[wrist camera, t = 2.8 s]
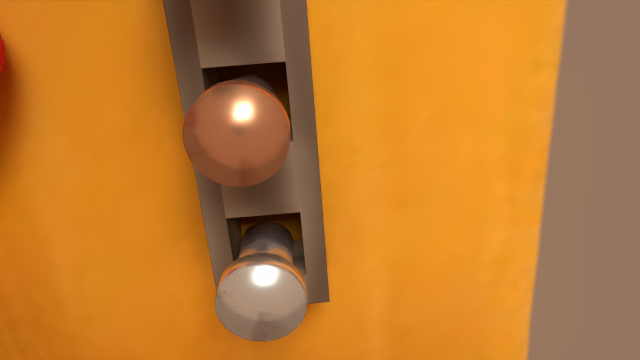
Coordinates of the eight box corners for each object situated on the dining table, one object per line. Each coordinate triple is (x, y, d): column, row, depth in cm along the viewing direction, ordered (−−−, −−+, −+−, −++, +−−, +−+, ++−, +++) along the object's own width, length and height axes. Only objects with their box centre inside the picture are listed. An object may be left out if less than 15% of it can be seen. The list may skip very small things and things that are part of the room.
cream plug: (235, 277, 35) (222, 345, 29) (225, 213, 33) (208, 270, 27) (307, 271, 35) (310, 337, 29) (301, 207, 33) (302, 262, 27)
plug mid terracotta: (214, 147, 31) (192, 191, 25) (200, 65, 29) (173, 90, 23) (295, 140, 31) (294, 182, 25) (287, 58, 29) (284, 81, 23)
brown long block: (229, 272, 40) (220, 311, 35) (155, -160, 28) (127, -187, 24) (325, 264, 40) (329, 301, 36) (291, -171, 28) (290, -199, 24)
